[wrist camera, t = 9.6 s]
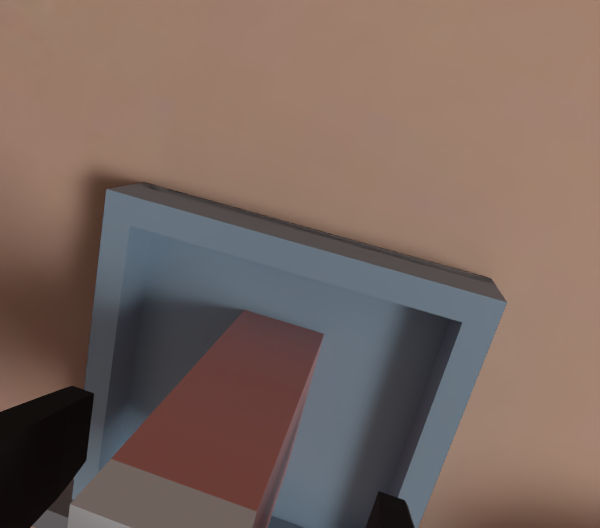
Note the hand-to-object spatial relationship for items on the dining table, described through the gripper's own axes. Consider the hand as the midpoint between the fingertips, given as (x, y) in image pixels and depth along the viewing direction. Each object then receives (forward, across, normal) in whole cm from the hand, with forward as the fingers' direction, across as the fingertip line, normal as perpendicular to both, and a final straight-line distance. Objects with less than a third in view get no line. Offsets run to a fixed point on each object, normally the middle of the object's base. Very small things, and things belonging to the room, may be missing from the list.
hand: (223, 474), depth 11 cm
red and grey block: (+4, 0, 0) cm, 4 cm away
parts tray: (+4, 0, 0) cm, 4 cm away
